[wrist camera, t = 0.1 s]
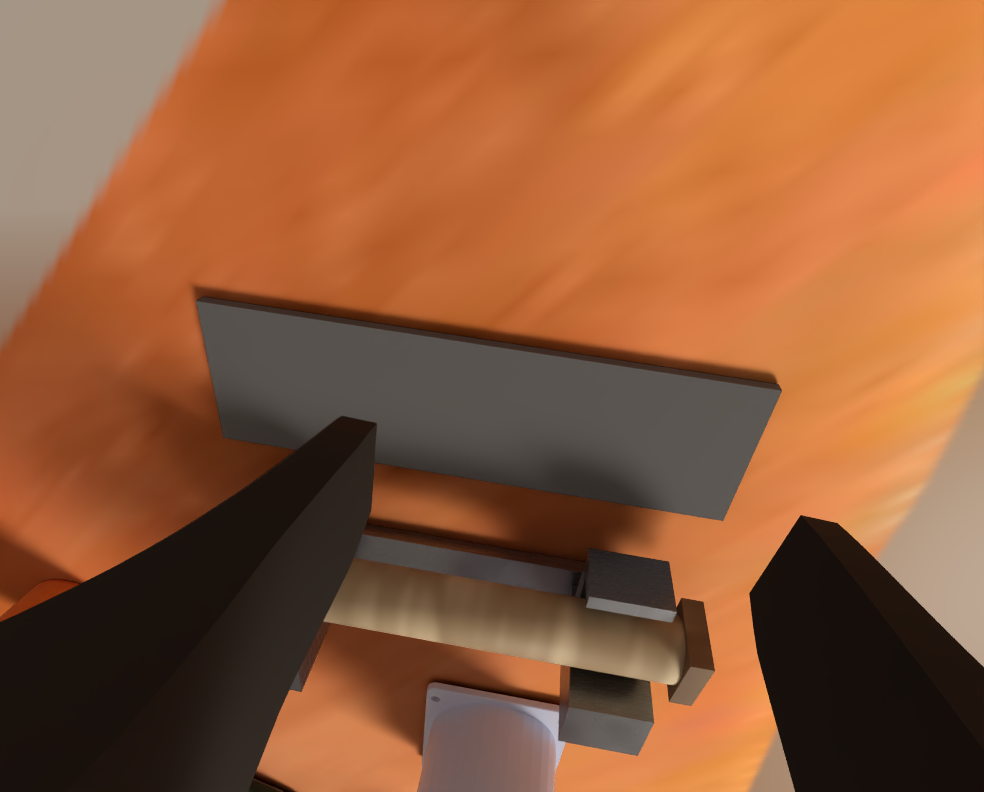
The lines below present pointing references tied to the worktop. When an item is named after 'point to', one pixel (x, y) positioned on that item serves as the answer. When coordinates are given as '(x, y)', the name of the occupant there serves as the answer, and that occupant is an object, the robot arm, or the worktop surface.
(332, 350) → the mat
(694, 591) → the worktop surface
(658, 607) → the hook standards
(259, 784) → the coffee jar
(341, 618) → the tan wooden rod
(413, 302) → the worktop surface
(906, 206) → the worktop surface
